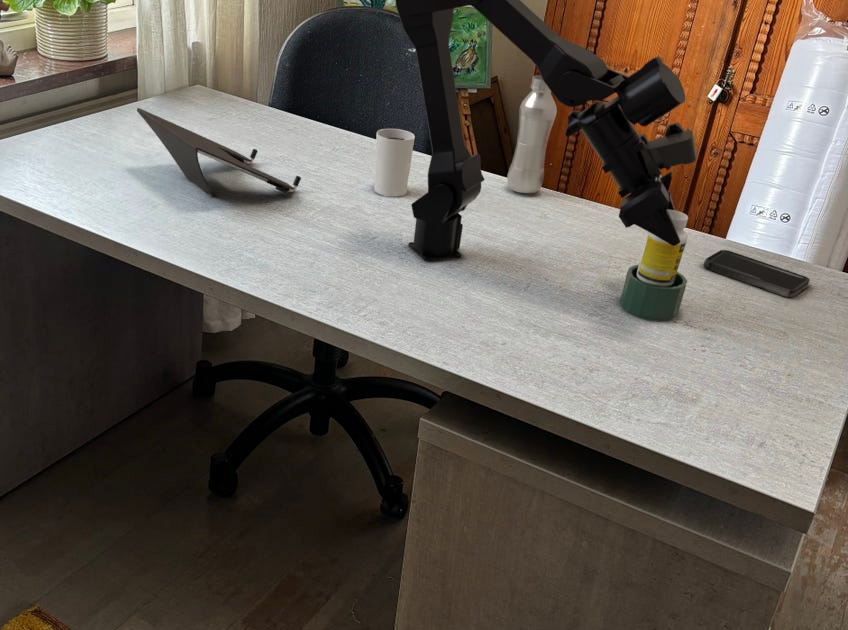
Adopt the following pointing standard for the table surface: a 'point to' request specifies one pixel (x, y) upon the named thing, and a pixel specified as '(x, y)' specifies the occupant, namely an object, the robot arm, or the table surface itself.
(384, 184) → the white cup
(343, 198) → the table surface
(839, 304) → the table surface
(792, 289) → the phone
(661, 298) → the crock
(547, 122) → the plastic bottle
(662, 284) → the supplement bottle
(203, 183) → the laptop stand
